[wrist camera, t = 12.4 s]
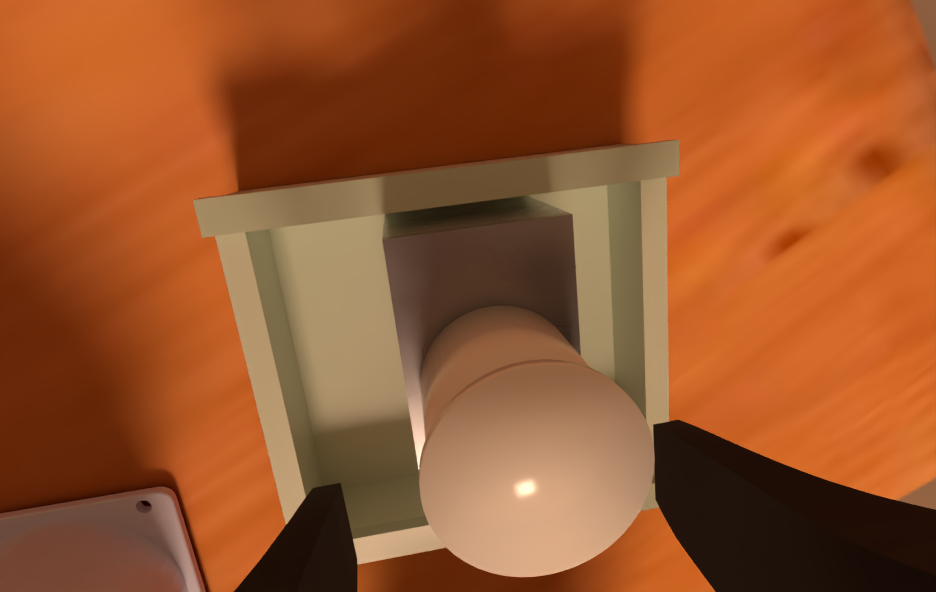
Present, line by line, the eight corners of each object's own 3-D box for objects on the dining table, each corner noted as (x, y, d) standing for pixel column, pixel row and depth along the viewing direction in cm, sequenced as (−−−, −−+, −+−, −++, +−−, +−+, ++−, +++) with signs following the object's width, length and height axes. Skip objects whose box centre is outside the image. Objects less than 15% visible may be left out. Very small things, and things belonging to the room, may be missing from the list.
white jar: (424, 468, 15) (435, 596, 11) (401, 311, 14) (403, 386, 10) (584, 441, 16) (656, 554, 11) (576, 286, 14) (653, 348, 10)
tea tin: (416, 416, 20) (423, 500, 16) (384, 213, 18) (382, 239, 13) (543, 395, 21) (587, 471, 16) (526, 195, 19) (572, 214, 14)
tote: (304, 507, 21) (287, 577, 18) (231, 188, 18) (192, 200, 14) (636, 448, 23) (680, 503, 19) (627, 140, 19) (678, 139, 16)
